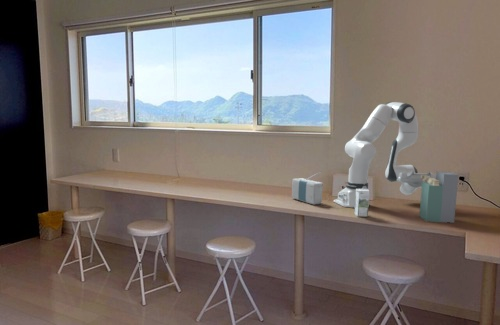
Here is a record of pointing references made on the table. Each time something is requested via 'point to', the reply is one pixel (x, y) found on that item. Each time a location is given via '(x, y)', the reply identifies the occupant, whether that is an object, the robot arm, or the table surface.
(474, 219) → the table surface
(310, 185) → the stereo radio cassette player
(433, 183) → the ash rod
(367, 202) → the syrup box
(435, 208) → the stepped riser
